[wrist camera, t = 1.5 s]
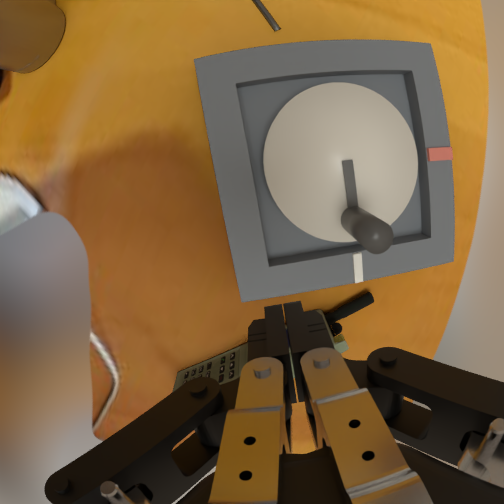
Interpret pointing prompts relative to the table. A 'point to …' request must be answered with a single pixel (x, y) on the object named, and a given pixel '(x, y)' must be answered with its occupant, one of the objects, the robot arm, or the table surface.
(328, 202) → the dial
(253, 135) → the panel
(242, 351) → the handheld radio
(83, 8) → the table surface
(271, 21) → the rod
